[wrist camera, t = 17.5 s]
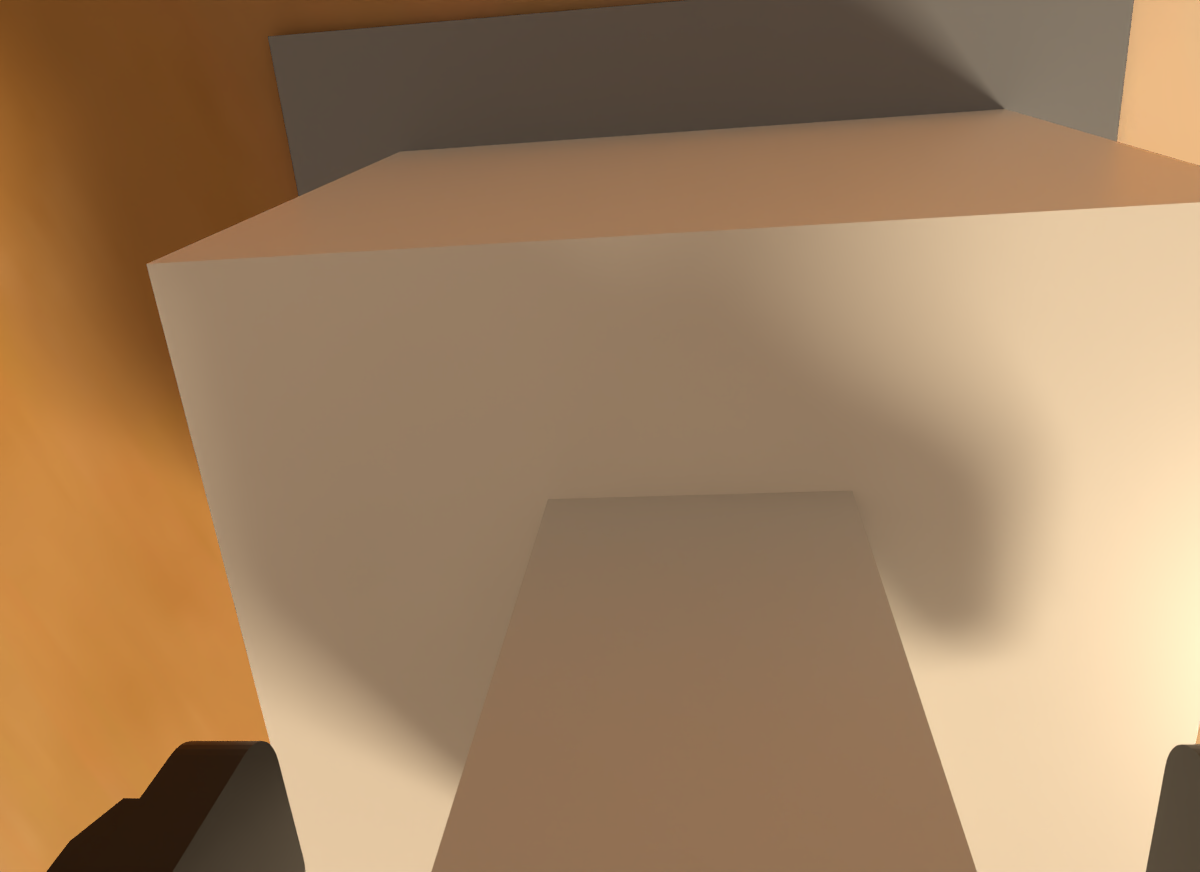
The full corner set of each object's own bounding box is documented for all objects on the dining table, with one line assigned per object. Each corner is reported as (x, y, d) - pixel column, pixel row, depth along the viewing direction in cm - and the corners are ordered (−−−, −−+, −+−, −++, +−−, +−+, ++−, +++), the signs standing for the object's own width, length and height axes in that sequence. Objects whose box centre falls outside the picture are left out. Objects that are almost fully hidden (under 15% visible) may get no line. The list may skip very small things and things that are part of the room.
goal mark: (272, 36, 17) (267, 36, 17) (1133, -39, 15) (1138, -39, 15) (400, 701, 22) (397, 707, 22) (1044, 697, 21) (1048, 704, 20)
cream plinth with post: (403, 150, 17) (-395, 502, 5) (1000, 108, 16) (2097, 427, 4) (475, 634, 21) (147, 1539, 9) (961, 628, 20) (1407, 1664, 7)
